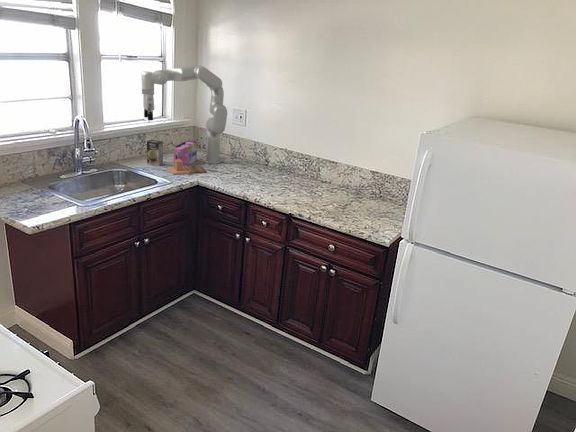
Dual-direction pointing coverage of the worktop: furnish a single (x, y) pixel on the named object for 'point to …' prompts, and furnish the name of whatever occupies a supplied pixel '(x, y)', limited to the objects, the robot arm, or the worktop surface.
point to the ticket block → (195, 169)
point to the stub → (178, 168)
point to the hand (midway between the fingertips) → (148, 118)
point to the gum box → (186, 152)
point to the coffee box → (155, 152)
